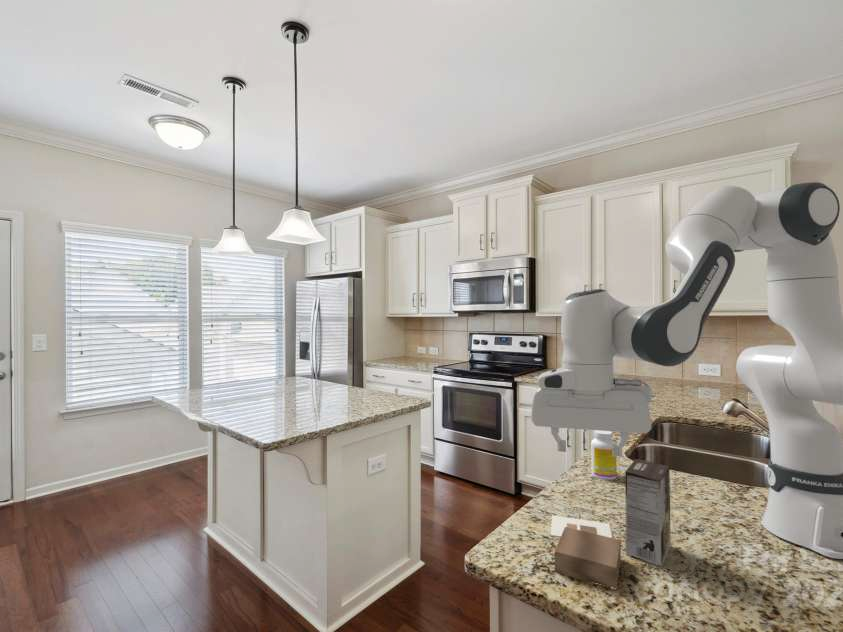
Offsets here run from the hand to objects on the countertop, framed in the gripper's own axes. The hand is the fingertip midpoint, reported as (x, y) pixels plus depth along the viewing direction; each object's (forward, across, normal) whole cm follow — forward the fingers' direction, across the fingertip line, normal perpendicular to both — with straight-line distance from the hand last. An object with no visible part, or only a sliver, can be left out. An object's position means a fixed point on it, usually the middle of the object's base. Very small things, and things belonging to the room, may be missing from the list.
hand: (588, 453), depth 76 cm
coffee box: (+21, -11, -9) cm, 25 cm away
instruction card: (+21, +2, -13) cm, 24 cm away
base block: (+21, 0, 0) cm, 21 cm away
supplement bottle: (+21, -6, -47) cm, 52 cm away
